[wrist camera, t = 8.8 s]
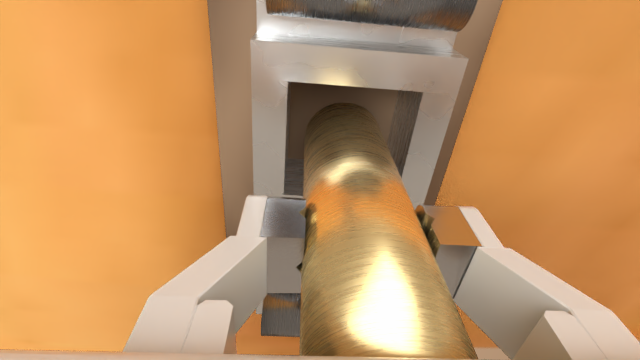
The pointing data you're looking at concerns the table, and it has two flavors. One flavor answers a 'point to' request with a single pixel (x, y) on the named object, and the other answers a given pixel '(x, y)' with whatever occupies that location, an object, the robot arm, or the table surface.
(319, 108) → the chain base
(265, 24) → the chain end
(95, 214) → the table surface
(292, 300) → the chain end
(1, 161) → the table surface
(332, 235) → the pin
